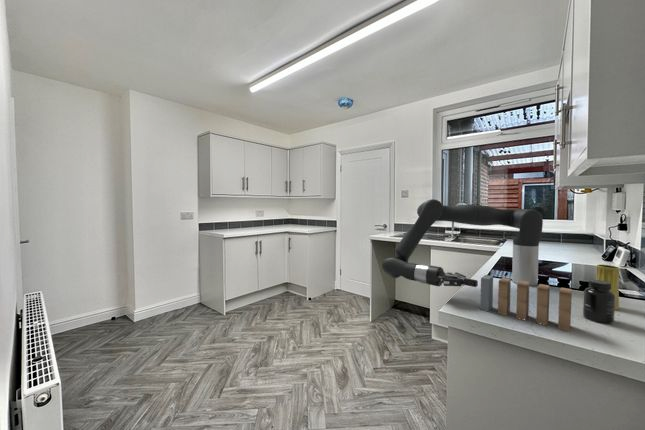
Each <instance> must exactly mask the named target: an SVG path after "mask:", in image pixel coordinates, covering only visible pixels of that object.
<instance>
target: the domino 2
mask: <svg viewBox="0 0 645 430" xmlns="http://www.w3.org/2000/svg"><path fill="white" fill-rule="evenodd" d="M511 281H512V278H506V277H502V278H500V279H499V280H498V288H497V290H498V291H497V292H498V296H497V299H498V300H497V314H498V313H499V314H498V315H501V314H503V315H502V316H505V315H507V314H508V315H509V313H510V312H511V286H512V285H511V283H512V282H511ZM508 315H507V316H508Z"/></svg>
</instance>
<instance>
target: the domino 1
mask: <svg viewBox="0 0 645 430" xmlns="http://www.w3.org/2000/svg"><path fill="white" fill-rule="evenodd" d="M493 299H494V276H493V275H489V274H488V275H487V274H485V275H483V276H482V277H480V310H481V309H483V310H482V311H485V310H486V312H490V311H491V309H492V308H493V306H494V305H493V304H494V300H493Z"/></svg>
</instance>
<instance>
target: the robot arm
mask: <svg viewBox="0 0 645 430" xmlns="http://www.w3.org/2000/svg"><path fill="white" fill-rule="evenodd" d="M416 213H417V216H418V218H417V219H416V221H415V223H414V224H413V225H412V226H411V228H410V229H409V230H408V231H407V232H406V233H405V234H404V236H403V237H402V238H401V240H400V241H399V243H398V244H397V246H396V247H395V248H394V254H395V257H388V258H385V259H384V260H383V261H382V262H381V268H382V270H383V272H384V273H385V274H387V275H388V276H390V278H392V279H398V278H400V277H403V278H404V279H406V280H409V281H414V282H419V283H421V284H425V285H430V286H434V287H441V286H442V285H443V286H444V287H462V286H468V287H472V288H476V287H478V285H479V284H478V280H477V279H472V278H468V277H467V276H466V275H464V274H462V273H459V272H454V273H453V272H451V271H450V272H449V271H447V272H445V271H444V268H443V267H442V266H437V265H430V264H421V263H420V264H419V263H414V262H409V259H410V257H411V255H413V253H414V252H415V249H416V248H417V247H418V245H419V243H420V242H421V240H422V239H423V238H424V236H425V235H426V233H427V232H428V231H429V229H431V227H432V226H433V224H435V222H449V223H456V224H457V223H458V224H465V225H472V226H482V227H483V226H485V227H486V226H497V225H498V226H504V227H511V228H515V229H518V230H519V231H518V235H517V236H515V237H513V239H512V270H511V281H512V283H514V284H516V285H517V284H518V283H519V282H520V281H525V282H529V287H530V286H532V287H533V286H538V283H539V282H538V280H539V255H540V253H539V251H540V250H539V248H540V247H539V245H540V241H541V240H542V236H543V235H542V234H543V226H544V225H543V224H544V223H543V222H544V220H543V216H542V213H540V211H538V210H537V209H529V208H528V209H527V208H517V209H516V208H515V209H512V208H511V209H510V208H509V209H506V208H505V209H503V208H502V209H501V208H496V207H493V206H488V205H483V204H481V205H480V204H456V205H443V203H442V202H441V201H439V200H438V199H435V198H434V199H433V198H432V199H428V200H425V201H424V202H422V203H421V204H420V205H419V206H418V207H417V211H416Z"/></svg>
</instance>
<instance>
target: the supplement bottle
mask: <svg viewBox="0 0 645 430" xmlns="http://www.w3.org/2000/svg"><path fill="white" fill-rule="evenodd" d="M611 289H612V288H611V283H610V282H606V281H602V280H596V279H589V281H588V287H586V288H585V289H584V291H583V303H582V304H583V305H582V306H583V307H582V315H583V317H584V318H586V319H587V320H589V321H591V322H595V323H597V324H598V323H599V324H605V325H610V324H611V325H612V324H613V323H615V312H616V310H615V299H616V296H615V294H614V293H613V292H611V291H610V290H611Z"/></svg>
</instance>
